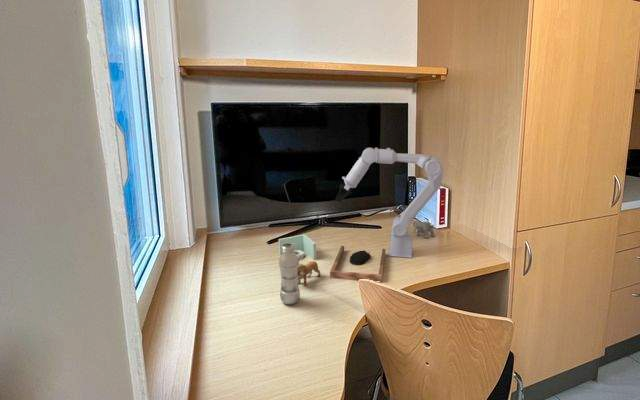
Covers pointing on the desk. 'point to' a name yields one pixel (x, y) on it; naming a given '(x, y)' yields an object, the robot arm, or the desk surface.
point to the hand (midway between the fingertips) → (339, 198)
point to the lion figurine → (307, 271)
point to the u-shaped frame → (353, 274)
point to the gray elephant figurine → (423, 228)
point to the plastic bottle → (289, 275)
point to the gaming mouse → (359, 257)
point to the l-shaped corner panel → (300, 246)
